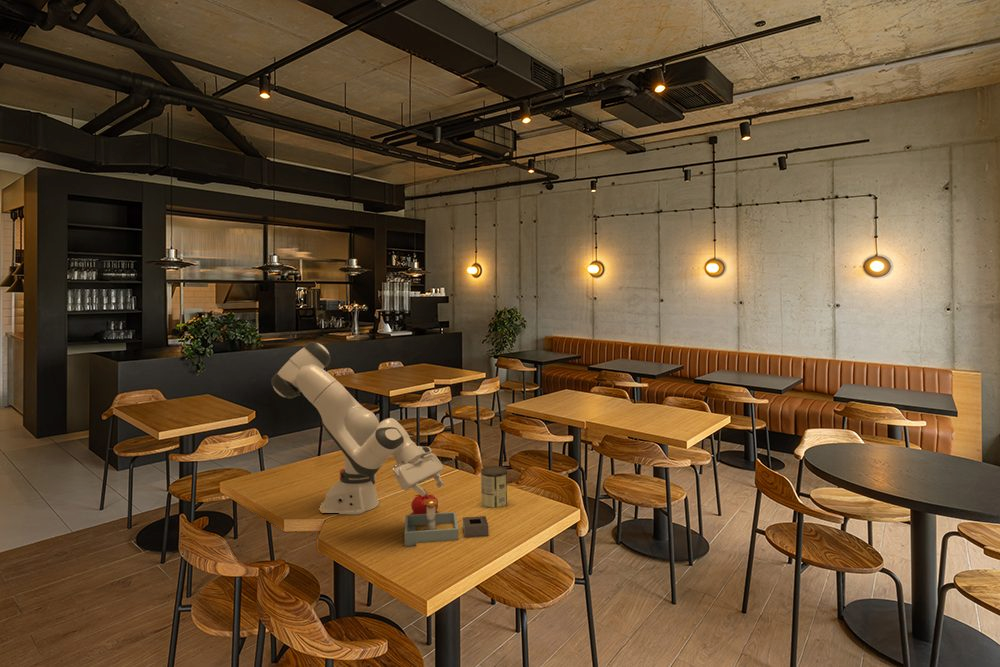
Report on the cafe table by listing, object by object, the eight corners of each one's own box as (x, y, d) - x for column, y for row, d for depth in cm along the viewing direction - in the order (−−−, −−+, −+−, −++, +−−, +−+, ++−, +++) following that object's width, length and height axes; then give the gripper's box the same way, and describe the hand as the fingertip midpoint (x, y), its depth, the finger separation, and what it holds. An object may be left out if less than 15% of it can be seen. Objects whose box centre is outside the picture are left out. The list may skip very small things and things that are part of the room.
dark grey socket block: (464, 540, 179) (464, 527, 179) (462, 530, 187) (462, 517, 187) (488, 538, 180) (488, 525, 180) (485, 528, 188) (485, 516, 188)
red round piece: (437, 520, 196) (437, 495, 195) (410, 520, 196) (409, 495, 195) (438, 508, 206) (438, 485, 205) (412, 509, 205) (412, 485, 205)
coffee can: (488, 498, 217) (487, 464, 216) (511, 502, 212) (511, 467, 211) (476, 507, 207) (476, 471, 206) (500, 511, 203) (500, 475, 202)
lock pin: (424, 536, 181) (424, 503, 180) (424, 530, 185) (424, 499, 185) (437, 535, 181) (437, 502, 181) (437, 530, 186) (437, 498, 185)
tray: (404, 546, 175) (404, 532, 175) (405, 527, 189) (405, 515, 189) (458, 542, 177) (458, 529, 177) (455, 524, 192) (455, 512, 192)
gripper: (395, 461, 176) (419, 495, 172) (432, 445, 194) (455, 476, 190) (385, 472, 179) (409, 506, 175) (422, 456, 196) (445, 486, 192)
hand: (433, 490), depth 182 cm, fingers open, 8 cm apart
